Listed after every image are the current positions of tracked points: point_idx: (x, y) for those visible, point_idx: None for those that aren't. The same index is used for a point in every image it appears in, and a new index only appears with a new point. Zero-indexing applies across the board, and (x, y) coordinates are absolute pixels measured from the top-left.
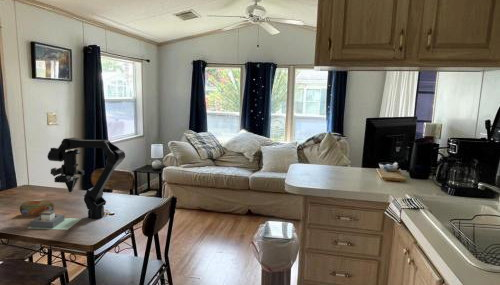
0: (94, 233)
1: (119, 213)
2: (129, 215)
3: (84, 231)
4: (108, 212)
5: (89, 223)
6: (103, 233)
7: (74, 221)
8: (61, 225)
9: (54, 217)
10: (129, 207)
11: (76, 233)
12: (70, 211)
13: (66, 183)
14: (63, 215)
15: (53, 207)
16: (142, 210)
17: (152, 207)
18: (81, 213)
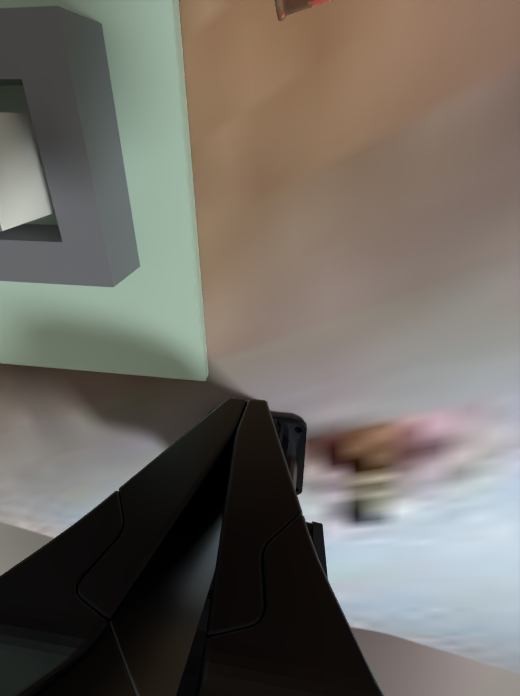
0: (41, 486)
1: (372, 544)
2: (332, 585)
3: (43, 440)
4: (398, 490)
5: (163, 433)
6: (57, 517)
7: (138, 352)
8: (38, 294)
9: (34, 217)
10: (509, 580)
11: (3, 412)
12: (459, 172)
13: (9, 609)
14: (97, 285)
15: (282, 13)
16: (428, 629)
17: (484, 663)
18: (379, 314)
